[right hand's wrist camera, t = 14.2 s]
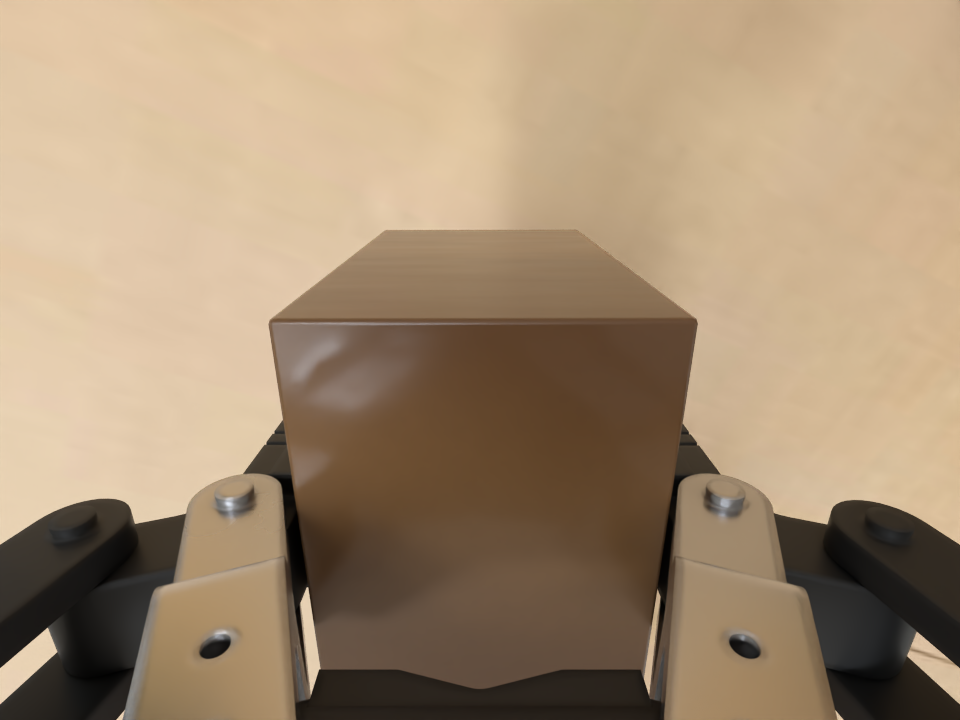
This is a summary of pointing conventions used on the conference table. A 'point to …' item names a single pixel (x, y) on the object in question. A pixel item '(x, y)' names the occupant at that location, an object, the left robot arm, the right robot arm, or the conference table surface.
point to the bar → (482, 452)
